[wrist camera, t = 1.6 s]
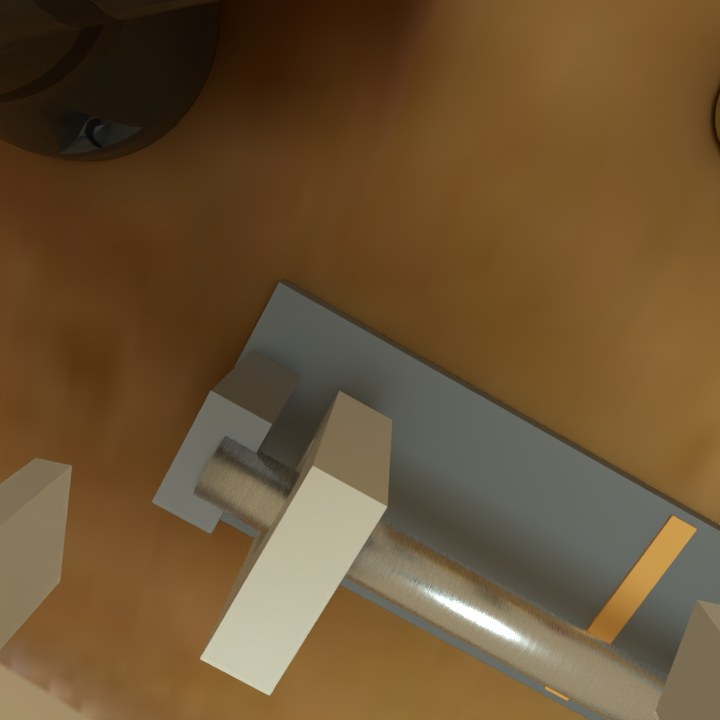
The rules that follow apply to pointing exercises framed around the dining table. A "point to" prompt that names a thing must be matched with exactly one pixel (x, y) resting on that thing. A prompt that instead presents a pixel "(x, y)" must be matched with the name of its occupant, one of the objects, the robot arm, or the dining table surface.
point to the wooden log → (718, 118)
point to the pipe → (452, 596)
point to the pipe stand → (464, 483)
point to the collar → (305, 546)
